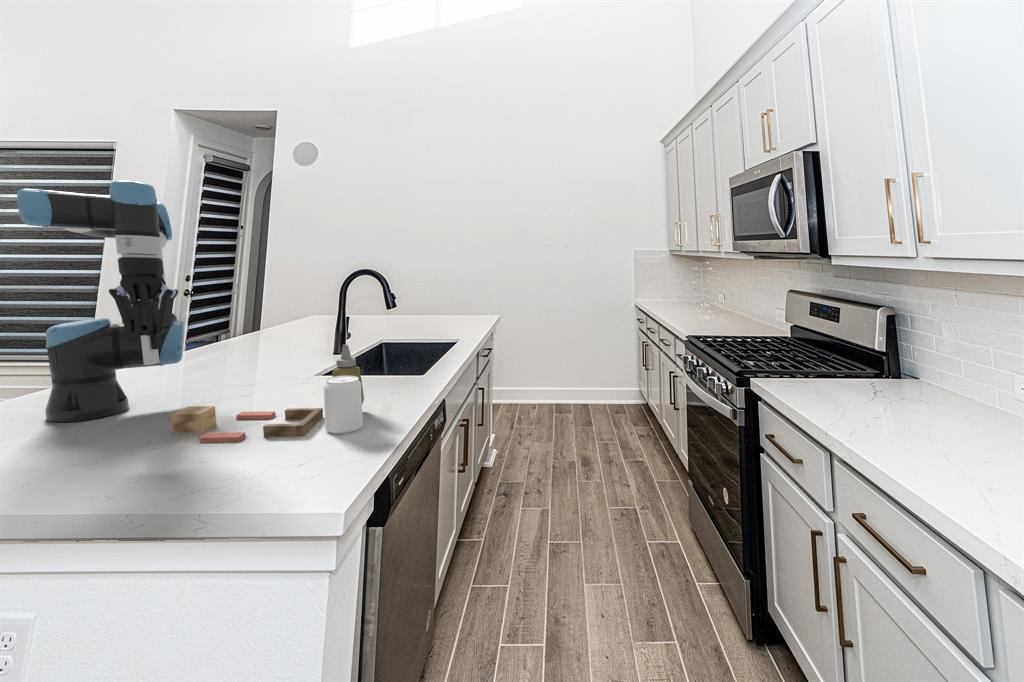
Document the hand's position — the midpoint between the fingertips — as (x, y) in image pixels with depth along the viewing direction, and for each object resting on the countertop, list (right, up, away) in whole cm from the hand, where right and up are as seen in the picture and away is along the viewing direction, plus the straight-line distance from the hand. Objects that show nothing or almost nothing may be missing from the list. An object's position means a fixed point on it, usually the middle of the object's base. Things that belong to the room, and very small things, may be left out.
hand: (151, 363), depth 100 cm
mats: (+18, -15, +4) cm, 24 cm away
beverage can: (+42, -16, +4) cm, 45 cm away
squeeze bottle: (+38, -14, +16) cm, 44 cm away
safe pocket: (+30, -15, +5) cm, 34 cm away
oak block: (+8, -15, +3) cm, 17 cm away
